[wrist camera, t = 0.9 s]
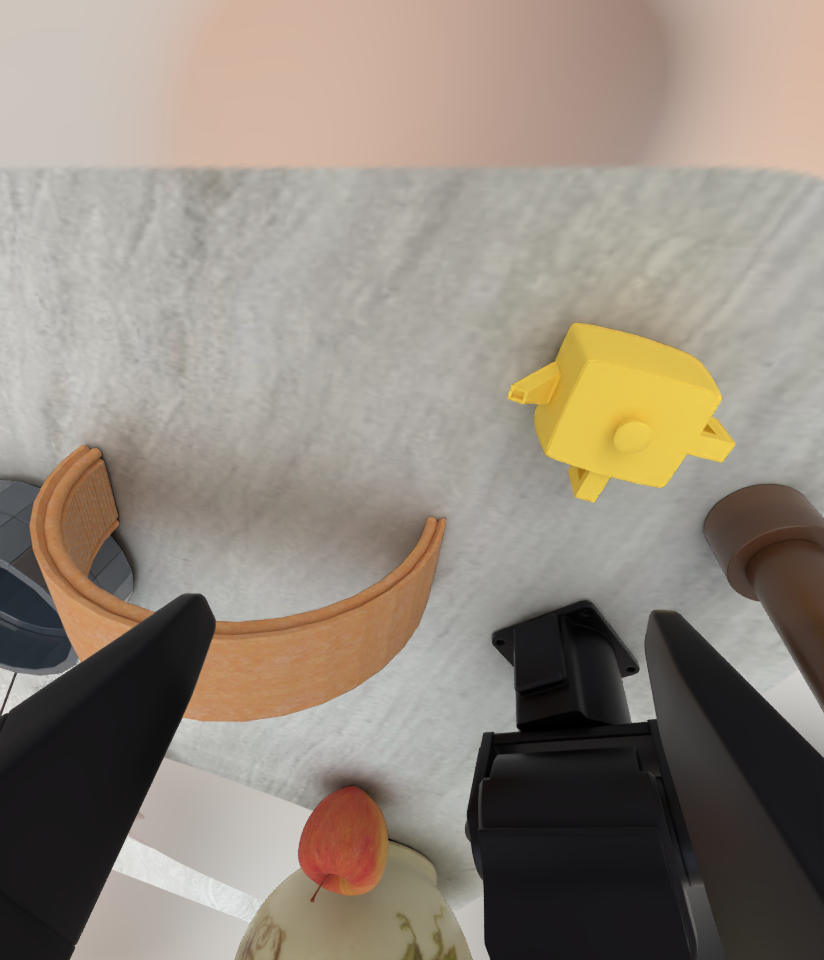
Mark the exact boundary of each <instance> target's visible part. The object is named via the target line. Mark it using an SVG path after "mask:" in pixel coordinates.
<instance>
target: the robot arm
mask: <svg viewBox="0 0 824 960" xmlns="http://www.w3.org/2000/svg"><path fill="white" fill-rule="evenodd" d="M215 629H216V620H215V617H214V615H213V613H212V611H211V609H210V607H209V604H208V602H207V600H206V598H205V597H204V596H203V595H202V594H191V593H186V594H182V595H180V596H179V597H177V598H176V599H174V600H173V601H171V602H170V603H168V604H167V605H165V606H164V607H163V608H161V609H160V610H158V611H157V612H155V613H154V614H152V615H151V616H149V617H148V618H146V619H145V620H143V621H142V622H140V623H139V624H137V625H136V626H134V627H133V628H131V629H130V630H128V631H127V632H126V633H124V634H123V635H121V636H120V637H118V638H117V639H115V640H114V641H112V642H111V643H109V644H108V645H106V646H105V647H103V648H102V649H100V650H99V651H97V652H96V653H94V654H93V655H91V656H90V657H88V658H87V659H86V660H84V661H83V662H81V663H80V664H78V665H77V666H75V667H74V668H72V669H71V670H69V671H68V672H66V673H65V674H63V675H62V676H60V677H59V678H57V679H56V680H54V681H53V682H51V683H50V684H48V685H47V686H46V687H44V688H43V689H41V690H40V691H38V692H37V693H35V694H34V695H32V696H31V697H29V698H28V699H26V700H25V701H23V702H22V703H20V704H19V705H17V706H16V707H14V708H13V709H11V710H10V712H9V714H8V713H6V714H4V715H2V716H1V717H0V960H70V958H71V956H72V953H73V952H74V950H75V946H74V945H76V944H77V942H78V940H79V938H80V936H81V934H82V932H83V929H84V927H85V925H86V923H87V921H88V919H89V917H90V914H91V912H92V910H93V908H94V906H95V904H96V902H97V900H98V897H99V895H100V893H101V891H102V889H103V887H104V884H105V882H106V880H107V878H108V876H109V874H110V872H111V870H112V867H113V865H114V863H115V861H116V859H117V857H118V854H119V852H120V850H121V848H122V846H123V844H124V842H125V839H126V837H127V835H128V833H129V831H130V829H131V827H132V824H133V822H134V820H135V818H136V816H137V814H138V812H139V809H140V807H141V805H142V803H143V801H144V799H145V796H146V794H147V792H148V790H149V788H150V786H151V784H152V782H153V779H154V777H155V775H156V773H157V771H158V769H159V766H160V764H161V762H162V760H163V758H164V756H165V754H166V752H167V749H168V747H169V745H170V743H171V741H172V739H173V737H174V734H175V732H176V730H177V728H178V726H179V724H180V722H181V719H182V717H183V715H184V713H185V711H186V709H187V706H188V704H189V702H190V699H191V697H192V694H193V692H194V689H195V687H196V684H197V681H198V678H199V675H200V673H201V670H202V667H203V664H204V661H205V659H206V656H207V653H208V650H209V647H210V644H211V642H212V639H213V636H214V633H215ZM492 644H493V645H494V646H495V647H496V649H497V650H498V651H499V652H500V653H501V654H502V655H503V656H504V657H505V658H506V659H507V660H508V661H509V662H510V664H511V665H512V666H513V667H514V688H515V691H516V726H517V728H518V732H509V733H496V734H495V733H494V732H485V733H483V737H482V742H481V747H480V748H479V752H478V757H477V762H476V767H475V773H474V778H473V783H472V788H471V793H470V799H469V804H468V809H467V821H466V824H465V834H466V837H467V839H468V840H469V841H470V842H471V847H472V854H473V858H474V862H475V866H476V869H477V872H478V874H479V876H480V877H481V879H482V880H483V885H484V940H485V946H486V949H487V952H488V954H489V957H490V960H696V957H697V951H698V935H697V931H696V927H695V923H694V919H693V915H692V911H691V907H690V903H689V899H688V895H687V891H686V887H705V890H706V893H707V896H708V900H709V903H710V906H711V910H712V913H713V916H714V920H715V923H716V926H717V930H718V933H719V936H720V940H721V943H722V947H723V950H724V953H725V957H726V960H824V758H823V757H822V756H821V755H820V754H819V753H818V752H817V751H816V750H815V749H814V748H813V747H812V746H811V745H810V744H809V743H808V742H807V741H806V740H805V739H804V738H803V737H802V736H801V735H800V734H799V733H798V732H797V731H796V730H795V729H794V728H793V727H792V726H791V725H790V724H789V723H788V722H787V721H786V720H785V719H784V718H783V717H782V716H781V715H780V714H779V713H778V712H777V711H776V710H775V709H774V708H773V707H772V706H771V705H770V704H769V703H768V702H767V701H766V700H765V699H764V698H763V697H762V696H761V695H760V694H759V693H758V692H757V691H756V690H755V689H754V688H753V687H752V686H751V685H750V684H749V683H748V682H747V681H746V680H745V679H744V678H743V677H742V676H741V675H740V674H739V673H738V672H737V671H736V670H735V669H734V668H733V667H732V666H731V665H730V664H729V663H728V662H727V661H726V660H725V659H724V658H723V657H722V656H721V655H720V654H719V653H718V652H717V651H716V650H715V649H714V648H713V647H712V646H711V645H710V644H709V643H708V642H707V641H706V640H705V639H704V638H703V637H702V636H701V635H700V634H699V633H698V632H697V631H696V630H695V629H694V628H693V627H692V626H691V625H690V624H689V623H688V622H687V621H686V620H685V619H684V618H683V617H682V616H681V615H680V614H679V613H677V612H676V611H667V610H654V611H652V612H651V614H650V617H649V621H648V626H647V631H646V636H645V655H646V661H647V667H648V672H649V678H650V683H651V689H652V695H653V700H654V706H655V712H656V717H657V719H651V720H647V721H648V722H639V723H632V722H631V718H630V713H629V709H628V704H627V700H626V696H625V691H624V687H623V682H622V678H623V677H626V676H630V675H634V674H636V673H638V672H639V670H640V668H639V665H638V662H637V660H636V659H635V658H634V656H633V655H632V654H631V652H630V651H629V650H628V648H627V647H626V646H625V645H624V643H623V642H622V641H621V639H620V638H619V637H618V635H617V634H616V633H615V632H614V630H613V629H612V628H611V626H610V625H609V624H608V622H607V621H606V620H605V619H604V617H603V616H602V615H601V613H600V612H599V611H598V609H597V608H596V607H595V606H594V604H593V603H591V602H589V601H582V602H579V603H576V604H573V605H570V606H567V607H565V608H562V609H559V610H556V611H554V612H551V613H548V614H545V615H543V616H540V617H537V618H534V619H531V620H529V621H526V622H523V623H520V624H518V625H515V626H512V627H509V628H507V629H504V630H501V631H498V632H496V633H494V634H493V635H492Z"/></svg>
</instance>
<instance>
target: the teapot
mask: <svg viewBox="0 0 824 960" xmlns="http://www.w3.org/2000/svg"><path fill="white" fill-rule="evenodd" d="M507 399H510V400H513V401H515V402H518V403H521V404H537V407H536V410H535V415H534V424H535V429H536V433H537V436H538V439H539V441H540V444H541V446H542V449H543V451H544V453H545V455H547V456H548V457H550V458H553V459H555V460H558V461H561V462H564V463H567V464H570V468H569V471H568V474H569V477H570V481H571V485H572V489H573V493H574V497H576V498H580V499H583V500H586V501H590V502H593V503H594V502H595V501H596V499H597V498H598V496H599V495H600V493H601V492H602V490H603V489H604V487H605V486H606V484H607V483H608V481H609V480H610V478H611V477H613V478H617V479H621V480H625V481H629V482H633V483H638V484H642V485H647V486H652V487H658V488H662V487H664V486H665V485H666V484H667V483H668V481H669V480H670V479H671V477H672V476H673V474H674V473H675V471H676V470H677V468H678V467H679V466H680V464H681V463H682V461H683V459H684V458H685V456H686V455H687V454H689V455H693V456H697V457H701V458H705V459H709V460H713V461H717V462H721V463H723V461H724V460H725V458H726V457H727V456H728V454H729V453H730V452H731V450H732V449H733V448H734V446H735V445H736V443H735V442H734V441H733V439H732V438H731V437H730V435H729V434H728V432H727V431H726V430H725V428H724V427H723V426H722V424H721V423H720V422H719V420H718V419H716V418H713V417H712V415H713V414H714V412H715V410H716V409H717V407H718V405H719V404H720V402H721V400H722V396H721V393H720V391H719V389H718V387H717V385H716V383H715V381H714V379H713V378H712V376H711V375H710V373H709V372H708V370H707V369H706V368H705V366H704V365H703V364H702V363H701V362H700V361H699V360H698V359H697V358H695V357H694V356H692V355H690V354H688V353H686V352H684V351H681V350H679V349H676V348H673V347H670V346H667V345H665V344H662V343H659V342H656V341H653V340H650V339H647V338H644V337H641V336H637V335H634V334H630V333H626V332H622V331H618V330H613V329H609V328H604V327H600V326H595V325H590V324H584V323H573V324H572V325H571V327H570V328H569V330H568V332H567V335H566V337H565V339H564V341H563V343H562V346H561V348H560V350H559V352H558V355H557V357H556V359H555V362H552V363H550V364H549V365H547V366H545V367H543V368H541V369H540V370H538V371H536V372H534V373H532V374H530V375H529V376H527V377H525V378H523V379H521V380H520V381H518V382H516V383H514V384H512V386H511V389H510V391H509V394H508V397H507Z"/></svg>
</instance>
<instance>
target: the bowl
mask: <svg viewBox="0 0 824 960" xmlns="http://www.w3.org/2000/svg"><path fill="white" fill-rule="evenodd" d="M40 489H41V488H39V487H36V486H32V485H29V484H26V483H23V482H19V481H9V480H0V668H3V669H6V670H10V671H13V672H16V673H24V674H32V675H39V676H40V675H50V674H58V673H62V672H64V671H66V670H68V669H69V668H71V667H73V666H74V665H76V664H77V663H78V661H79V660H80V659H79V657H78V655H77V654H76V652H75V650H74V648H73V646H72V644H71V642H70V640H69V638H68V636H67V633H66V631H65V628H64V626H63V624H62V621H61V619H60V616H59V614H58V611H57V609H56V606H55V604H54V601H53V599H52V596H51V594H50V591H49V589H48V586H47V584H46V581H45V579H44V576H43V574H42V571H41V569H40V566H39V564H38V561H37V559H36V556H35V554H34V551H33V546H32V540H31V533H30V527H29V525H30V520H31V514H32V509H33V504H34V501H35V499H36V497H37V495H38V493H39V491H40ZM87 578H88V579H89V580H90V581H92V582H93V583H94V584H95V585H96V586H98V587H99V588H101V589H103V590H105V591H106V592H108V593H110V594H112V595H113V596H115V597H117V598H119V599H120V600H122V601H124V602H128V600H129V598H130V596H131V594H132V591H133V576H132V569H131V567H130V565H129V563H128V561H127V559H126V557H125V554H124V552H123V550H121V548H120V547H119V545H118V544H117V542H116V541H115V539H114V538H113V537H112V536H111V535H110V536H109V537H108V538H107V539H106V540H105V541H104V542H103V544H102V546H101V548H100V549H99V551H98V553H97V554H96V556H95V558H94V560H93V562H92V565H91V568H90V571H89V574H88V577H87Z"/></svg>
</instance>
